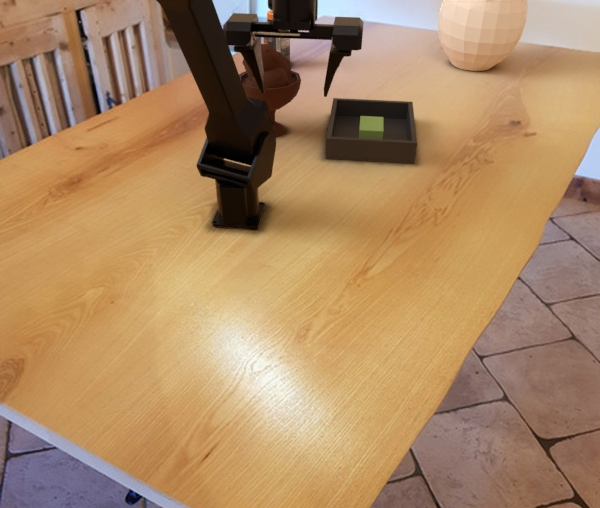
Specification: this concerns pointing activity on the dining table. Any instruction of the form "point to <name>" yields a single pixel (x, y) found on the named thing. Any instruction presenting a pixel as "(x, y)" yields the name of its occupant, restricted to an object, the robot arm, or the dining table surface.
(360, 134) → the green block
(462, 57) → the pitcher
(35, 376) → the dining table surface
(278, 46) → the pill bottle
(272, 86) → the ice cream bowl
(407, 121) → the dark brown tray
